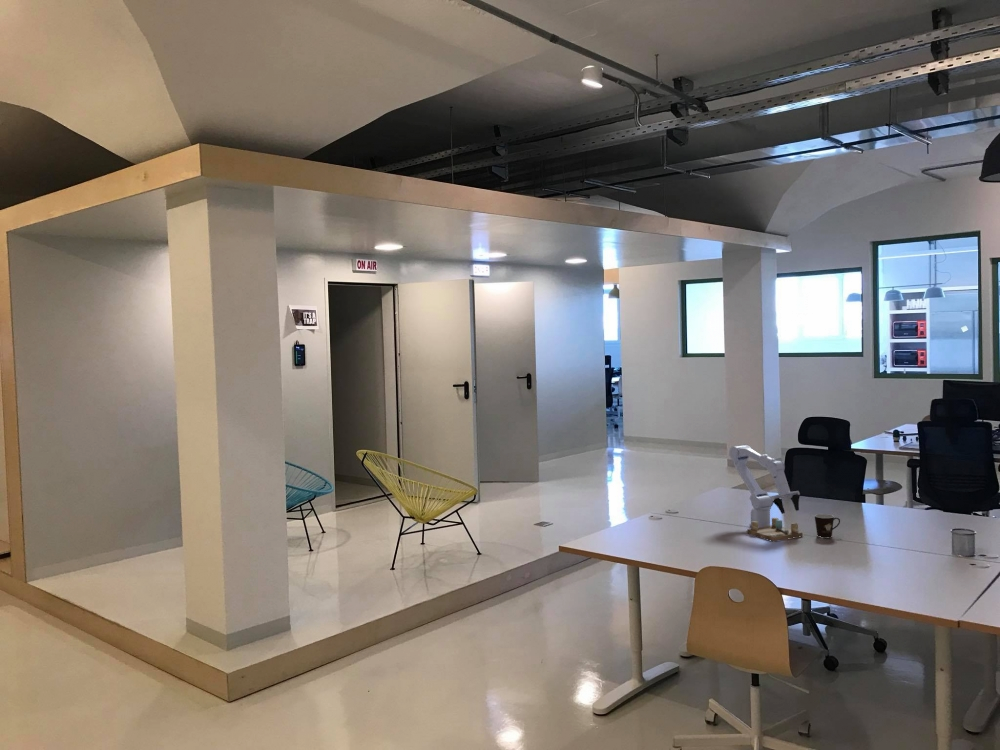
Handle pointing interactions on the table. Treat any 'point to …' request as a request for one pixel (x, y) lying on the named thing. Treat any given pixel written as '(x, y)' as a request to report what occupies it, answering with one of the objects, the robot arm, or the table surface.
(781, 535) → the stool seat
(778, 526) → the folding leg
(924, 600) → the table surface
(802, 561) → the table surface
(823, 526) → the coffee mug
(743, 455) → the robot arm
